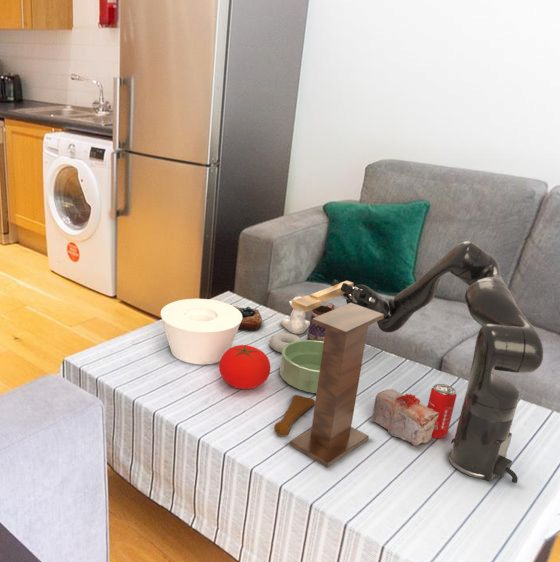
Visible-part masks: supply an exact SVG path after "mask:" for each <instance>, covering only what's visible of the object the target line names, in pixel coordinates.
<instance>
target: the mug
mask: <svg viewBox="0 0 560 562" xmlns="http://www.w3.org/2000/svg"><path fill="white" fill-rule="evenodd" d="M334 309H336V308H335V305H334V304H333V303H332V302H328V303H327V304H326V305H320V307H317V308H315V309H312V310H311V315H310V320H309V321H310V326H309V327H308V329H307V337H306V340H316V341H323V342H324V336H325V329H326V328H324V327H321V326H319V325H316V324H314V323H312V319H313V318H315V317H318V316H320V315H322V314H325V313H327V312H330V311H332V310H334Z"/></svg>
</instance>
